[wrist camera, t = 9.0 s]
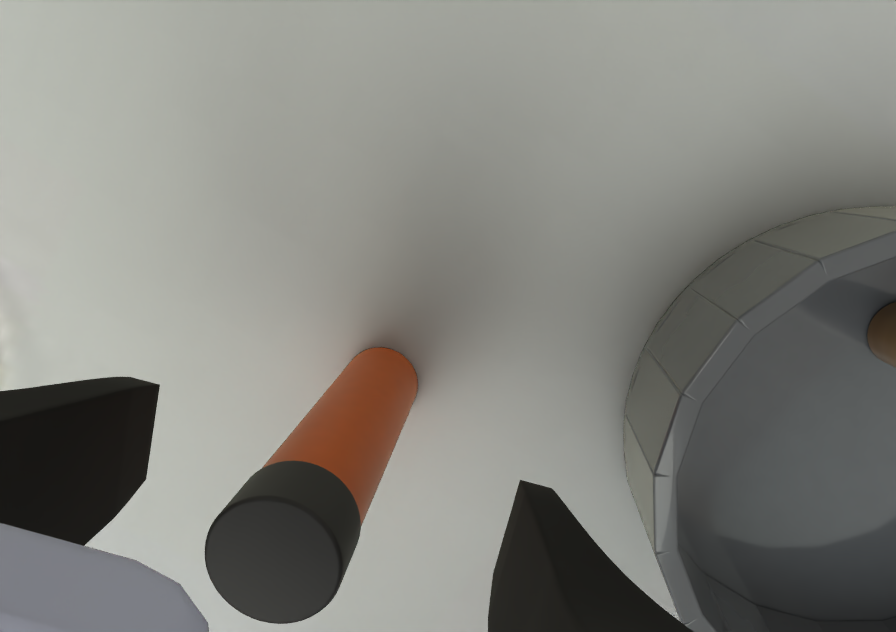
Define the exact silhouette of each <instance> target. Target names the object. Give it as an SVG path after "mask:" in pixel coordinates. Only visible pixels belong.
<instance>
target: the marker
mask: <svg viewBox="0 0 896 632" xmlns="http://www.w3.org/2000/svg"><path fill="white" fill-rule="evenodd" d="M417 389H418V380H417V375H416V372H415V370H414V368H413V366H412V365H411V363H410V362H409V361H408V360H407V359H406V358H405V357H404V356H403V355H402V354H400V353H398V352H396V351H394V350H391V349H388V348H381V347H378V348H371V349H367V350H365V351H363V352H361V353H359V354H358V355H357V356H355V357H354V358H353V359H352V361H351V362H350V363H349V364H348V365H347V367H346V368H345V369H344V370H343V371H342V373H341V374H340V375H339V376H338V377H337V379H336V380H335V381H334V382H333V384H332V385H331V386H330V387H329V388H328V390H327V391H326V392H325V393H324V394H323V396H322V397H321V398H320V399H319V400H318V402H317V403H316V404H315V405H314V406H313V408H312V409H311V410H310V411H309V412H308V414H307V415H306V416H305V417H304V418H303V420H302V421H301V422H300V423H299V424H298V426H297V427H296V428H295V429H294V430H293V432H292V433H291V434H290V435H289V436H288V438H287V439H286V440H285V441H284V442H283V444H282V445H281V446H280V447H279V448H278V450H277V451H276V452H275V453H274V454H273V456H272V457H271V458H270V459H269V460H268V462H267V463H266V464H265V465H264V466H263V468H262V469H260V470H259V471H257V472H256V473H255V474H254V475H253V476H251V477H250V478H249V480H248V481H247V482H246V483H245V484H244V486H243V487H242V488H241V489H240V490H239V492H238V493H237V494H236V495H235V496H234V497H233V499H232V500H231V501H230V502H229V503H228V505H227V506H226V507H225V508H224V509H223V510H222V512H221V513H220V514H219V515H218V516H217V518H216V519H215V520H214V522H213V524H212V525H211V527H210V529H209V532H208V535H207V539H206V544H205V562H206V567H207V571H208V574H209V577H210V579H211V581H212V583H213V585H214V586H215V588H216V590H217V591H218V592H219V594H220V595H221V596H222V597H223V598H224V599H225V600H226V601H227V602H228V603H229V604H230V605H231V606H232V607H234V608H235V609H236V610H238V611H240V612H241V613H243V614H245V615H247V616H249V617H251V618H254V619H257V620H259V621H263V622H268V623H277V624H284V623H293V622H298V621H302V620H304V619H307V618H309V617H311V616H313V615H315V614H316V613H318V612H320V611H321V610H322V609H323V608H325V607H326V606H327V605H328V604H329V603H330V602H331V601H332V599H333V598H334V596H335V595H336V593H337V591H338V589H339V587H340V584H341V582H342V579H343V577H344V575H345V572H346V570H347V567H348V565H349V562H350V560H351V558H352V555H353V553H354V550H355V548H356V545H357V543H358V540H359V536H360V530H361V526H362V523H363V521H364V519H365V516H366V514H367V511H368V509H369V507H370V504H371V502H372V499H373V497H374V495H375V492H376V490H377V488H378V485H379V483H380V480H381V478H382V476H383V473H384V471H385V469H386V466H387V464H388V461H389V459H390V457H391V454H392V452H393V450H394V447H395V445H396V442H397V440H398V438H399V435H400V433H401V430H402V428H403V426H404V423H405V421H406V419H407V416H408V414H409V411H410V409H411V407H412V404H413V402H414V400H415V397H416V394H417Z"/></svg>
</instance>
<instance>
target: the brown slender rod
mask: <svg viewBox="0 0 896 632" xmlns="http://www.w3.org/2000/svg"><path fill="white" fill-rule="evenodd" d="M867 338H868V343H869V347H870V349H871V351H872V352H873V353H874V355H875V356H876V357H877V358H879V359H880V360H882V361H883V362H885V363H887V364H889V365H891V366H893V367H895V368H896V302H894V303H891V304H889V305H887V306H885V307H884V308H882V309H881V310H880V311H879V312H878V313H877V314H876V315H875V316H874V317H873V319H872V320H871V322H870V325H869V328H868V333H867Z"/></svg>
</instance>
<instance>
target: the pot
mask: <svg viewBox="0 0 896 632" xmlns="http://www.w3.org/2000/svg"><path fill="white" fill-rule="evenodd" d="M894 302H896V206H889V207H881V206H871V207H859V208H847V209H839V210H832V211H830V212H825V213H820V214H815V215H810V216H807V217H804V218H801V219H798V220H795V221H792V222H789V223H786V224H783V225H780V226H777V227H775V228H773V229H771V230H769V231H767V232H765V233H763V234H761V235H758V236H756V237H754V238H752V239H750V240H748V241H746V242H745V243H743V244H742V245H740V246H738V247H737V248H735V249H734V250H732V251H731V252H729V253H727V254H726V255H724V256H723V257H721V258H720V259H719V260H717V261H716V262H715V263H714V264H712V265H711V266H710V267H709V268H708V269H706V270H705V271H704V272H703V273H701V274H700V275H699V276H698V277H697V278H696V279H695V280H694V281H693V282H692V283H691V284H690V285H689V286H688V287H687V288H686V289H685V290H684V291H683V292H682V293H681V294H680V295H679V296H678V297H677V298H676V299H675V301H674V302H673V303H672V305H671V306H670V307H669V309H668V310H667V311H666V313H665V314H664V315H663V317H662V318H661V320H660V321H659V322H658V324H657V325H656V327H655V329H654V331H653V332H652V334H651V336H650V338H649V340H648V341H647V343H646V345H645V347H644V348H643V351H642V353H641V356H640V358H639V361H638V363H637V366H636V368H635V371H634V373H633V376H632V380H631V384H630V388H629V392H628V396H627V400H626V407H625V416H624V426H623V438H624V457H625V463H626V476H627V481H628V484H629V486H630V489H631V492H632V495H633V497H634V500H635V503H636V505H637V508H638V511H639V513H640V516H641V519H642V522H643V524H644V527H645V530H646V532H647V535H648V538H649V541H650V543H651V546H652V549H653V551H654V554H655V557H656V559H657V562H658V564H659V567H660V570H661V572H662V575H663V577H664V580H665V582H666V585H667V588H668V590H669V593H670V595H671V598H672V600H673V603H674V606H675V608H676V611H677V613H678V616H679V618H680V621H681V622H682V623H683V624H684V625H685V626H687V627H688V628H689V629H691V630H692V631H694V632H896V368H895V367H893V366H891V365H889V364H887V363H885V362H883V361H882V360H880V359H879V358H877V357H876V356H875V355H874V353H873V352H872V351H871V349H870V347H869V343H868V338H867V333H868V328H869V325H870V322H871V320H872V319H873V317H874V316H875V315H876V314H877V313H878V312H879V311H880V310H881V309H882V308H884V307H885V306H887V305H889V304H891V303H894Z"/></svg>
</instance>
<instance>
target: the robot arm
mask: <svg viewBox="0 0 896 632" xmlns="http://www.w3.org/2000/svg"><path fill="white" fill-rule="evenodd" d="M159 387H160V385H158V384H154V383H151V382H147V381H143V380H139V379H135V378H132V377H109V378H99V379H90V380H83V381H75V382H68V383H61V384H54V385H47V386H40V387H33V388H25V389H17V390H8V391H0V632H209V627H208V622H207V621H206V619H205V618H204V617H203V615H202V614H201V612H200V611H199V610H198V608H197V607H196V606H195V604H194V603H193V601H192V600H191V599H190V597H189V596H188V595H187V593H186V592H185V590H184V589H183V588H182V586H181V585H180V584H179V583H177V582H175V581H174V580H172V579H170V578H168V577H166V576H164V575H162V574H161V573H159V572H157V571H155V570H153V569H151V568H149V567H148V566H146V565H144V564H142V563H140V562H138V561H136V560H133V559H130V558H126V557H122V556H119V555H115V554H111V553H108V552H104V551H101V550H97V549H93V548H90V547H86V546H84V545H85V544H86V543H87V542H88V541H90V540H91V539H92V538H93V537H94V536H95V535H96V534H97V533H98V532H99V531H100V530H102V529H103V528H104V527H105V526H106V525H107V524H108V523H109V522H110V521H111V520H112V519H113V518H114V517H115V516H116V515H117V514H118V513H119V512H120V510H121V509H122V508H123V507H124V506H125V505H126V503H127V502H128V501H129V500H130V499H131V497H132V496H133V495H134V494H135V492H136V491H137V490H138V489H139V487H140V486H141V485H142V484H143V482H144V481H145V480H146V475H147V469H148V462H149V455H150V448H151V441H152V434H153V428H154V421H155V414H156V407H157V400H158V393H159ZM488 632H694V631H692V630H691V629H689V628H688V627H687V626H685V625H684V624H683V623H681V622H680V621H678V620H677V619H676V618H674V617H673V616H672V615H670V614H669V613H668V612H667V611H665V610H664V609H663V608H662V607H660V606H659V605H658V604H657V603H656V602H655V601H653V600H652V599H651V598H650V597H649V596H648V595H647V594H645V593H644V592H643V591H642V590H641V589H640V588H639V587H637V586H636V585H635V584H634V583H633V582H632V581H631V580H630V579H629V578H628V577H627V576H626V575H625V574H624V573H623V572H622V571H621V570H620V569H619V568H618V567H617V566H616V565H615V564H614V563H613V562H612V561H611V559H610V558H609V557H608V556H607V555H606V554H605V553H604V552H603V551H602V550H601V548H600V547H599V546H598V545H597V544H596V543H595V542H594V540H593V539H592V538H591V537H590V536H589V534H588V533H587V532H586V531H585V529H584V528H583V527H582V526H581V524H580V523H579V522H578V521H577V519H576V518H575V517H574V515H573V514H572V513H571V512H570V510H569V509H568V508H567V506H566V505H565V504H564V502H563V501H562V500H561V499H560V497H559V496H558V495H557V494H556V493H555V491H554V490H553V489H552V488H548V487H544V486H541V485H537V484H533V483H529V482H526V481H522V480H520V482H519V486H518V489H517V493H516V496H515V500H514V503H513V507H512V510H511V514H510V517H509V521H508V524H507V528H506V531H505V534H504V538H503V541H502V545H501V548H500V552H499V555H498V559H497V562H496V566H495V569H494V573H493V580H492V588H491V597H490V606H489V615H488Z"/></svg>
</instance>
